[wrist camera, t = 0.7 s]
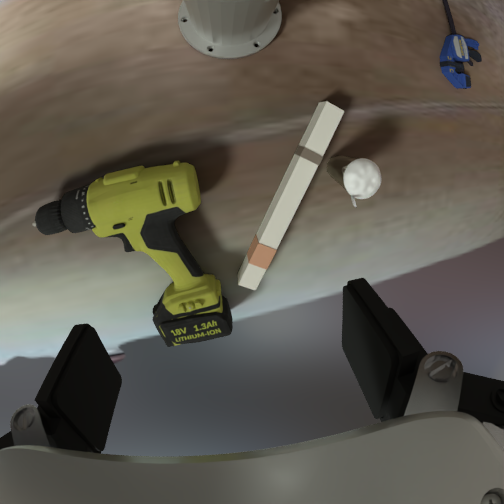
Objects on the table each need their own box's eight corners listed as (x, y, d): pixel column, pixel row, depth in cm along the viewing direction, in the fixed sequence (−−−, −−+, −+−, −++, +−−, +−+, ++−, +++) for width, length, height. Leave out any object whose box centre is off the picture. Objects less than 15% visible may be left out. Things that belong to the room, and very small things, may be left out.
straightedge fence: (318, 102, 34) (326, 100, 31) (336, 111, 35) (345, 111, 32) (237, 274, 43) (238, 285, 40) (253, 279, 44) (255, 291, 41)
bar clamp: (490, 93, 31) (451, 85, 31) (480, 93, 34) (441, 86, 33) (445, -59, 19) (401, -75, 19) (438, -55, 21) (395, -70, 21)
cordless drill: (93, 333, 45) (38, 194, 35) (232, 313, 47) (198, 149, 36) (81, 360, 39) (12, 208, 29) (236, 342, 40) (194, 154, 30)
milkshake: (311, 176, 38) (338, 195, 29) (333, 143, 36) (366, 152, 27) (338, 194, 39) (369, 217, 30) (358, 162, 38) (396, 177, 29)
